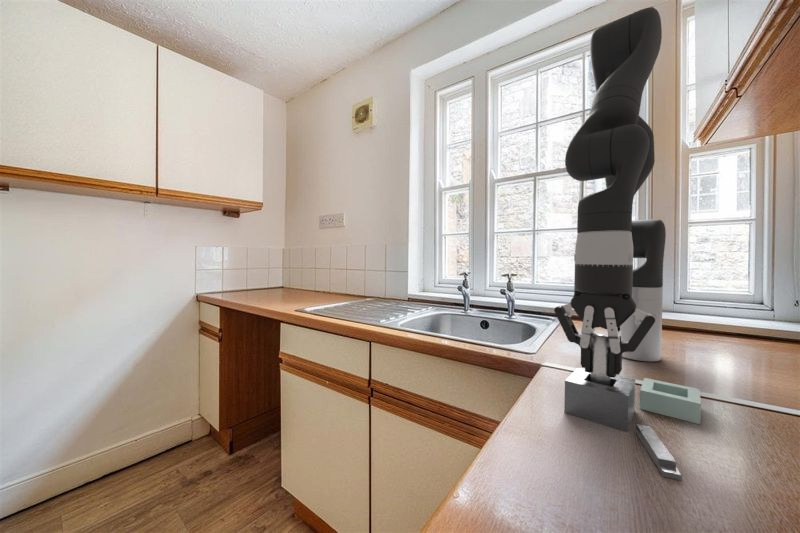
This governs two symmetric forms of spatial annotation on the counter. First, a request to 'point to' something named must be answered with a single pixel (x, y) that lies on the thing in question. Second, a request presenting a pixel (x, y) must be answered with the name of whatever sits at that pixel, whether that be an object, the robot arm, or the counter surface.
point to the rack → (671, 400)
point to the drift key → (658, 452)
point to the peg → (600, 359)
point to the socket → (600, 399)
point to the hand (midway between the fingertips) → (600, 372)
